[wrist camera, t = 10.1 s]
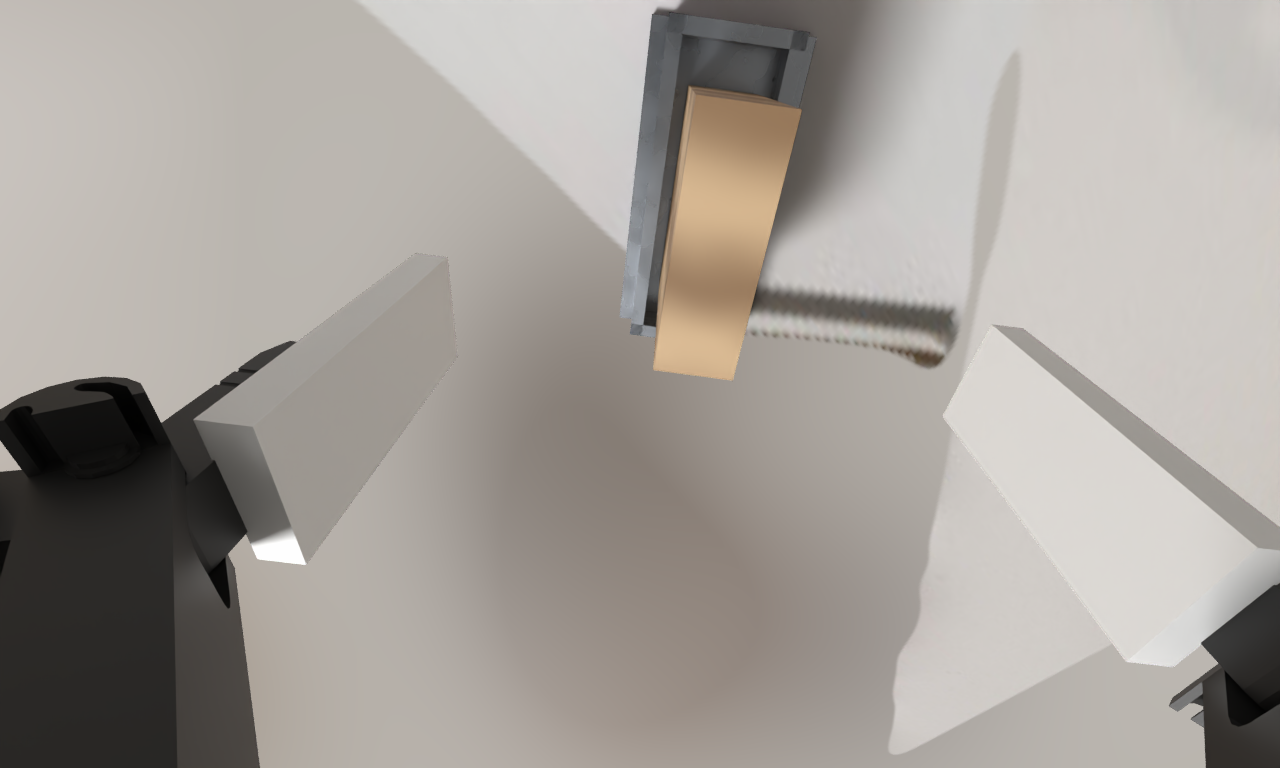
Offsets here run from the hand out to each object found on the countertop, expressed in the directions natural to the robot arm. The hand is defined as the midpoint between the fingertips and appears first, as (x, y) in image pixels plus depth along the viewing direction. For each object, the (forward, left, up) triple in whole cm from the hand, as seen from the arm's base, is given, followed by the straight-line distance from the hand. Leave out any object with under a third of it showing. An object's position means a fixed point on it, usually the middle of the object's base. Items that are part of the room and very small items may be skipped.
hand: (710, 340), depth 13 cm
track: (+1, +1, -23) cm, 23 cm away
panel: (+1, +1, -22) cm, 22 cm away
